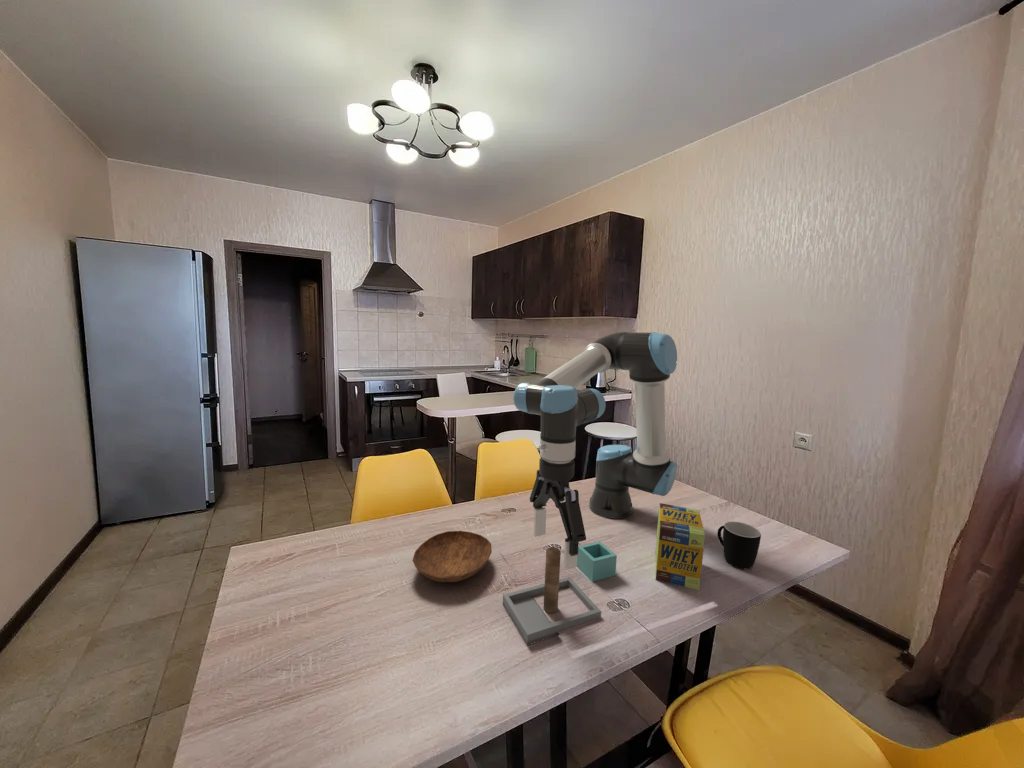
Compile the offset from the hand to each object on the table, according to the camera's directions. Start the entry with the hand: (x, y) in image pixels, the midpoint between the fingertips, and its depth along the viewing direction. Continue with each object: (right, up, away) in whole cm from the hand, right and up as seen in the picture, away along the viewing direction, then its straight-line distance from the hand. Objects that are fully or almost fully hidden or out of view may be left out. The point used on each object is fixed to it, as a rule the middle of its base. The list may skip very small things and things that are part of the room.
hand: (553, 549), depth 87 cm
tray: (-1, -15, +2) cm, 15 cm away
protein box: (+35, -14, +18) cm, 42 cm away
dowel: (-1, -14, +2) cm, 14 cm away
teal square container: (+13, -13, +16) cm, 24 cm away
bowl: (-25, -12, +17) cm, 33 cm away
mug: (+54, -13, +25) cm, 61 cm away
